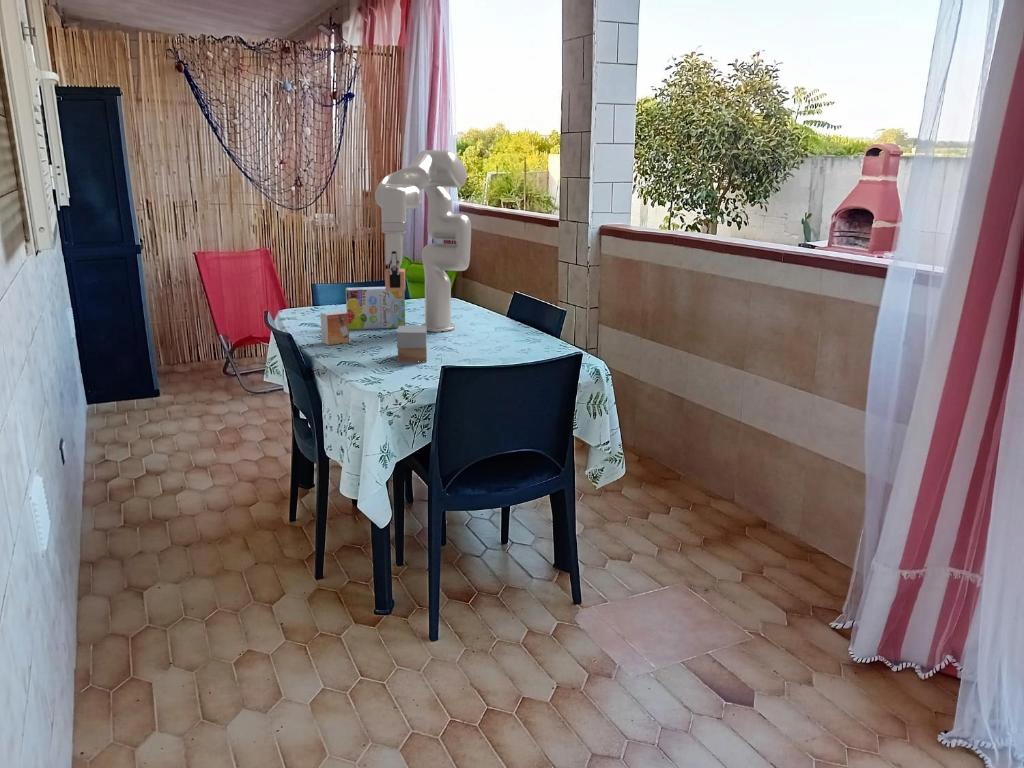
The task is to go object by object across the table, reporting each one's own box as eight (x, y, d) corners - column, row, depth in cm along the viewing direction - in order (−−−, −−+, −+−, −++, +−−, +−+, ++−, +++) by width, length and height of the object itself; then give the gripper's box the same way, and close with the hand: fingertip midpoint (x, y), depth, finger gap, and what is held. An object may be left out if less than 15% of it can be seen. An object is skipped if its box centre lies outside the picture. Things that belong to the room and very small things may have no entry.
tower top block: (398, 340, 252) (398, 325, 250) (426, 340, 252) (426, 325, 251) (397, 347, 243) (396, 332, 241) (426, 347, 244) (425, 332, 242)
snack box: (403, 324, 295) (403, 285, 291) (405, 328, 290) (404, 288, 286) (347, 326, 290) (345, 286, 286) (347, 330, 285) (346, 289, 281)
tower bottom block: (398, 355, 253) (398, 340, 251) (426, 355, 254) (426, 340, 253) (398, 363, 244) (397, 347, 243) (426, 363, 246) (426, 347, 244)
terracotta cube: (386, 287, 246) (385, 268, 245) (405, 287, 247) (404, 268, 245) (385, 290, 241) (384, 271, 239) (404, 290, 241) (404, 271, 240)
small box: (328, 345, 262) (326, 315, 259) (321, 342, 267) (319, 312, 263) (349, 342, 267) (348, 312, 264) (343, 339, 271) (341, 309, 268)
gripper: (383, 224, 246) (385, 280, 251) (380, 230, 230) (381, 290, 235) (407, 224, 247) (408, 281, 252) (405, 230, 230) (406, 290, 236)
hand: (395, 285), depth 244 cm, fingers closed on terracotta cube, 6 cm apart
